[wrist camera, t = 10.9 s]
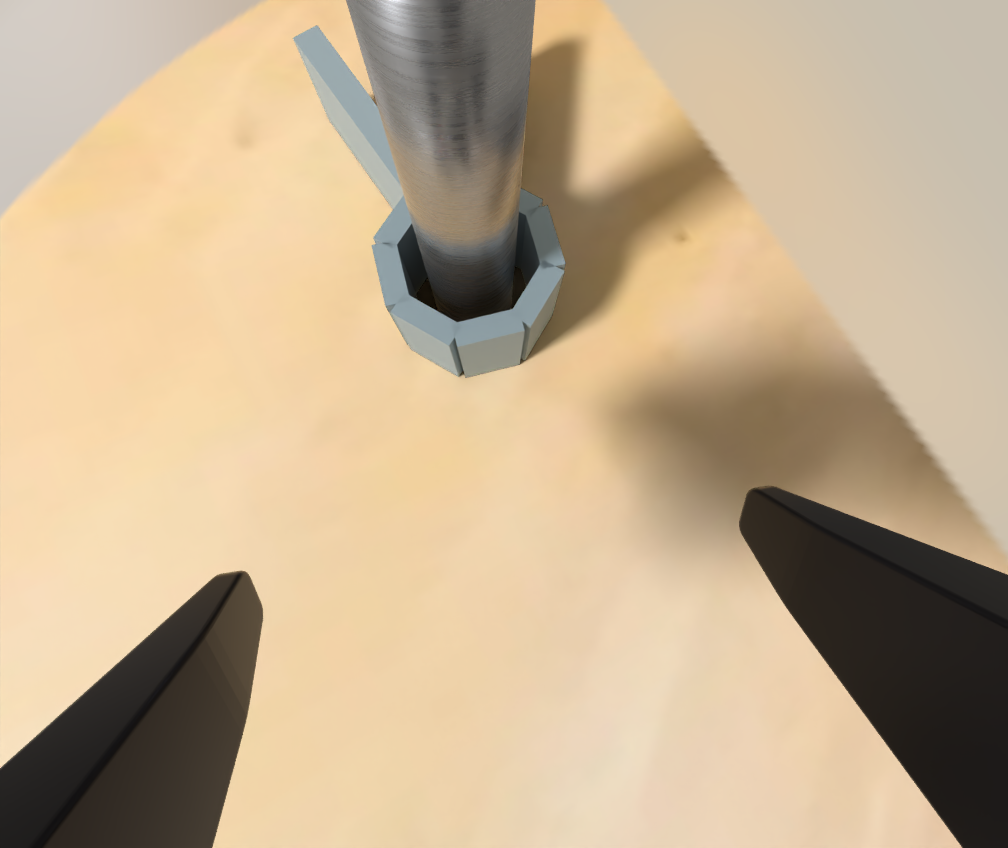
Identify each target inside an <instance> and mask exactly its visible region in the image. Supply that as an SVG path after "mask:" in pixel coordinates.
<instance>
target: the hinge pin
mask: <svg viewBox="0 0 1008 848" xmlns="http://www.w3.org/2000/svg"><path fill="white" fill-rule="evenodd" d="M346 1H347V5H348V8H349V12H350V15H351V18H352V22H353V25H354V29H355V32H356V35H357V39H358V42H359V45H360V49H361V52H362V56H363V59H364V62H365V66H366V69H367V73H368V76H369V79H370V83H371V86H372V89H373V93H374V96H375V100H376V103H377V106H378V110H379V113H380V116H381V120H382V123H383V127H384V130H385V133H386V137H387V140H388V144H389V147H390V150H391V154H392V157H393V160H394V164H395V167H396V171H397V174H398V177H399V181H400V184H401V188H402V191H403V194H404V198H405V201H406V204H407V208H408V211H409V215H410V218H411V221H412V225H413V228H414V232H415V235H416V238H417V242H418V245H419V248H420V252H421V255H422V259H423V262H424V265H425V269H426V272H427V276H428V279H429V282H430V286H431V289H432V292H433V296H434V299H435V303H436V306H437V309H438V312H440V313H442V314H443V315H445V316H447V317H449V318H450V319H452V320H454V321H456V322H461V321H465V320H469V319H473V318H477V317H482V316H486V315H490V314H494V313H498V312H503V311H507V310H511V305H512V292H513V280H514V267H515V254H516V242H517V229H518V216H519V203H520V191H521V178H522V165H523V152H524V140H525V127H526V114H527V102H528V89H529V76H530V63H531V51H532V38H533V25H534V12H535V0H346Z"/></svg>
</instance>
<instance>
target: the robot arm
mask: <svg viewBox="0 0 1008 848" xmlns="http://www.w3.org/2000/svg"><path fill="white" fill-rule="evenodd" d="M739 527H740V531H741V534H742V536H743V537H744V539H745V541H746V542H747V544H748V546H749V547H750V549H751V551H752V552H753V554H754V556H755V557H756V559H757V561H758V562H759V564H760V566H761V567H762V569H763V571H764V572H765V574H766V576H767V577H768V579H769V581H770V582H771V584H772V586H773V587H774V589H775V591H776V592H777V594H778V595H779V597H780V599H781V600H782V602H783V603H784V605H785V606H786V608H787V609H788V611H789V612H790V613H791V615H792V616H793V618H794V619H795V620H796V622H797V623H798V625H799V626H800V627H801V629H802V630H803V631H804V633H805V634H806V635H807V637H808V638H809V640H810V641H811V642H812V644H813V645H814V646H815V648H816V649H817V650H818V652H819V653H820V654H821V656H822V657H823V659H824V660H825V661H826V663H827V664H828V665H829V667H830V668H831V669H832V671H833V672H834V674H835V675H836V676H837V678H838V679H839V680H840V682H841V683H842V684H843V686H844V687H845V689H846V690H847V691H848V693H849V694H850V695H851V697H852V698H853V699H854V701H855V702H856V704H857V705H858V706H859V708H860V709H861V710H862V712H863V713H864V714H865V716H866V717H867V719H868V720H869V721H870V723H871V724H872V725H873V727H874V728H875V729H876V731H877V732H878V733H879V735H880V736H881V738H882V739H883V740H884V742H885V743H886V744H887V746H888V747H889V748H890V750H891V751H892V753H893V754H894V755H895V757H896V758H897V759H898V761H899V762H900V763H901V765H902V766H903V768H904V769H905V770H906V772H907V773H908V774H909V776H910V777H911V778H912V780H913V781H914V783H915V784H916V785H917V787H918V788H919V789H920V791H921V792H922V793H923V795H924V796H925V798H926V799H927V800H928V802H929V803H930V804H931V806H932V807H933V808H934V810H935V811H936V812H937V814H938V815H939V817H940V818H941V819H942V821H943V822H944V823H945V825H946V826H947V827H948V829H949V830H950V832H951V833H952V834H953V836H954V837H955V838H956V840H957V841H958V842H959V844H960V845H961V847H962V848H1008V575H1007V574H1004V573H1001V572H999V571H996V570H993V569H991V568H988V567H986V566H983V565H980V564H978V563H975V562H972V561H970V560H967V559H964V558H962V557H959V556H956V555H954V554H951V553H949V552H946V551H943V550H941V549H938V548H935V547H933V546H930V545H927V544H925V543H922V542H919V541H917V540H914V539H912V538H909V537H906V536H904V535H901V534H898V533H896V532H893V531H890V530H888V529H885V528H882V527H880V526H877V525H875V524H872V523H869V522H867V521H864V520H861V519H859V518H856V517H853V516H851V515H848V514H845V513H843V512H840V511H838V510H835V509H832V508H830V507H827V506H824V505H822V504H819V503H816V502H814V501H811V500H808V499H806V498H803V497H801V496H798V495H795V494H793V493H790V492H787V491H785V490H782V489H779V488H777V487H774V486H765V487H758V488H753V489H751V490H750V491H749V492H748V493H747V495H746V498H745V502H744V506H743V510H742V513H741V517H740V521H739ZM262 622H263V608H262V604H261V601H260V599H259V597H258V594H257V592H256V590H255V587H254V585H253V583H252V580H251V578H250V576H249V574H248V573H247V572H245V571H235V572H229V573H223V574H219V575H217V576H215V577H214V578H213V579H211V580H210V581H209V582H208V583H207V584H206V585H205V586H204V587H202V588H201V589H200V590H199V591H198V592H197V593H196V594H195V595H193V596H192V597H191V598H190V599H189V600H188V601H187V602H186V603H184V604H183V605H182V606H181V607H180V608H179V609H178V610H177V611H176V612H174V613H173V614H172V615H171V616H170V617H169V618H168V619H167V620H165V621H164V622H163V623H162V624H161V625H160V626H159V627H158V628H157V629H155V630H154V631H153V632H152V633H151V634H150V635H149V636H148V637H146V638H145V639H144V640H143V641H142V642H141V643H140V644H139V645H138V646H136V647H135V648H134V649H133V650H132V651H131V652H130V653H129V654H127V655H126V656H125V657H124V658H123V659H122V660H121V661H120V662H119V663H117V664H116V665H115V666H114V667H113V668H112V669H111V670H110V671H108V672H107V673H106V674H105V675H104V676H103V677H102V678H101V679H100V680H98V681H97V682H96V683H95V684H94V685H93V686H92V687H91V688H89V689H88V690H87V691H86V692H85V693H84V694H83V695H82V696H80V697H79V698H78V699H77V700H76V701H75V702H74V703H73V704H72V705H70V706H69V707H68V708H67V709H66V710H65V711H64V712H63V713H61V714H60V715H59V716H58V717H57V718H56V719H55V720H54V721H53V722H51V723H50V724H49V725H48V726H47V727H46V728H45V729H44V730H42V731H41V732H40V733H39V734H38V735H37V736H36V737H35V738H34V739H32V740H31V741H30V742H29V743H28V744H27V745H26V746H25V747H23V748H22V749H21V750H20V751H19V752H18V753H17V754H16V755H15V756H13V757H12V758H11V759H10V760H9V761H8V762H7V763H6V764H4V765H3V766H2V767H1V768H0V848H212V847H213V843H214V839H215V836H216V832H217V828H218V825H219V821H220V817H221V813H222V810H223V806H224V802H225V799H226V795H227V791H228V787H229V784H230V780H231V776H232V773H233V769H234V765H235V761H236V758H237V754H238V750H239V747H240V743H241V739H242V735H243V731H244V727H245V723H246V719H247V715H248V709H249V704H250V698H251V692H252V685H253V679H254V673H255V666H256V660H257V654H258V647H259V641H260V635H261V628H262Z"/></svg>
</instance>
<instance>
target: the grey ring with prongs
mask: <svg viewBox="0 0 1008 848" xmlns="http://www.w3.org/2000/svg"><path fill="white" fill-rule="evenodd" d="M293 39H294V42H295V44H296V46H297V48H298V51H299V53H300V55H301V58H302V60H303V62H304V64H305V67H306V69H307V71H308V73H309V76H310V78H311V80H312V82H313V85H314V87H315V89H316V92H317V94H318V96H319V98H320V101H321V103H322V105H323V107H324V110H325V112H326V114H327V117H328V119H329V121H330V122H331V123H332V125H333V126H334V128H335V129H336V130H337V132H338V133H339V135H340V136H341V137H342V139H343V140H344V142H345V143H346V144H347V146H348V147H349V149H350V150H351V151H352V153H353V154H354V156H355V157H356V158H357V160H358V161H359V163H360V164H361V165H362V167H363V168H364V170H365V171H366V172H367V174H368V175H369V177H370V178H371V179H372V181H373V182H374V184H375V185H376V186H377V188H378V189H379V191H380V192H381V193H382V195H383V196H384V198H385V199H386V200H387V202H388V203H389V205H390V206H391V207H392V209H393V211H392V212H391V214H390V215H389V216H388V218H387V219H386V221H385V222H384V223H383V225H382V226H381V228H380V229H379V230H378V232H377V233H376V235H375V236H374V238H373V239H374V241H375V243H376V244H375V245H372V249H373V253H374V258H375V262H376V266H377V271H378V275H379V280H380V284H381V288H382V293H383V297H384V302H385V306H386V308H387V310H388V311H389V313H390V315H391V317H392V318H393V320H394V322H395V324H396V325H397V327H398V329H399V331H400V332H401V334H402V336H403V338H404V339H405V341H406V343H407V345H409V347H410V348H411V350H413V351H414V352H416V353H418V354H420V355H421V356H423V357H425V358H427V359H428V360H430V361H432V362H434V363H435V364H437V365H439V366H440V367H442V368H444V369H446V370H447V371H449V372H451V373H453V374H454V375H456V376H458V377H459V376H460V374H461V373H462V371H464V375H465V378H467V377H471V376H475V375H479V374H483V373H487V372H491V371H496V370H500V369H504V368H508V367H512V366H516V365H520V359H523V360H526V358H527V356H528V355H529V353H530V351H531V350H532V348H533V347H534V345H535V343H536V342H537V340H538V338H539V337H540V335H541V333H542V332H543V330H544V328H545V327H546V325H547V323H548V322H549V320H550V318H551V317H552V314H553V311H554V307H555V304H556V300H557V297H558V293H559V290H560V286H561V283H562V279H563V275H564V272H565V271H564V268H565V264H566V263H565V260H564V257H563V254H562V250H561V247H560V244H559V241H558V237H557V234H556V231H555V228H554V224H553V221H552V218H551V215H550V211H549V208H548V205H547V206H542V202H543V199H541V198H539V197H537V196H535V195H533V194H531V193H529V192H527V191H526V190H524V189H522V188H521V191H520V203H519V216H518V229H517V242H516V254H515V267H517V268H519V269H521V271H522V275H523V278H524V282H525V285H526V288H525V290H524V291H523V293H522V295H521V296H520V298H519V299H518V301H517V303H516V304H515V306H514V308H513V309H511V310H507V311H503V312H498V313H494V314H490V315H486V316H482V317H477V318H473V319H469V320H465V321H461V322H456V321H454V320H452V319H450V318H449V317H447V316H445V315H443V314H442V313H440V312H438V311H436V310H434V309H433V308H431V307H429V306H427V305H426V304H424V303H422V302H420V301H418V300H417V296H416V293H417V292H418V290H419V289H420V288H421V286H422V285H423V283H424V282H425V280H426V279H427V277H428V276H427V272H426V269H425V265H424V262H423V259H422V255H421V252H420V248H419V245H418V242H417V238H416V235H415V232H414V228H413V225H412V221H411V218H410V215H409V211H408V208H407V204H406V201H405V198H404V194H403V191H402V188H401V184H400V181H399V177H398V174H397V171H396V167H395V164H394V160H393V157H392V154H391V150H390V147H389V144H388V140H387V137H386V133H385V130H384V127H383V123H382V120H381V116H380V113H379V110H378V107H377V105H376V104H375V103H374V101H373V100H372V99H371V97H370V96H369V95H368V93H367V92H366V91H365V89H364V88H363V86H362V85H361V84H360V82H359V81H358V80H357V78H356V77H355V76H354V74H353V73H352V72H351V70H350V69H349V68H348V66H347V65H346V64H345V62H344V61H343V60H342V58H341V57H340V55H339V54H338V53H337V51H336V50H335V49H334V47H333V46H332V45H331V43H330V42H329V41H328V39H327V38H326V37H325V35H324V34H323V33H322V31H321V30H320V28H319V27H318V26H317V25H316V26H315V27H313V28H311V29H309V30H307V31H305V32H303V33H301V34H299V35H298V36H296V37H294V38H293Z"/></svg>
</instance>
